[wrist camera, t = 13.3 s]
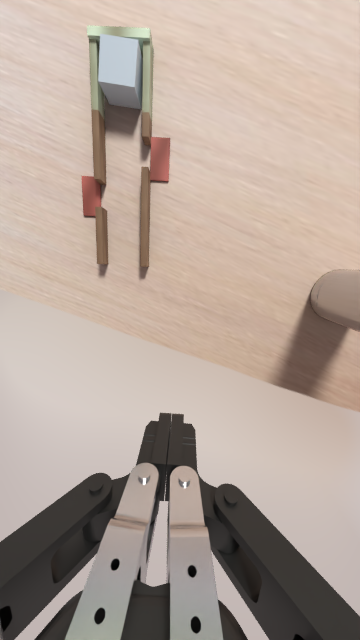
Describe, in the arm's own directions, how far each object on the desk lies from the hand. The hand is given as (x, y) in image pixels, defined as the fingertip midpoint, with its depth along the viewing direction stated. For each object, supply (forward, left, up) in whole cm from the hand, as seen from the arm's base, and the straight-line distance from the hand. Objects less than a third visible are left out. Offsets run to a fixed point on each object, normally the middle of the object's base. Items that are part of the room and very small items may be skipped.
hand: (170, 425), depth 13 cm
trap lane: (+11, -24, -29) cm, 40 cm away
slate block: (+11, -36, -29) cm, 47 cm away
